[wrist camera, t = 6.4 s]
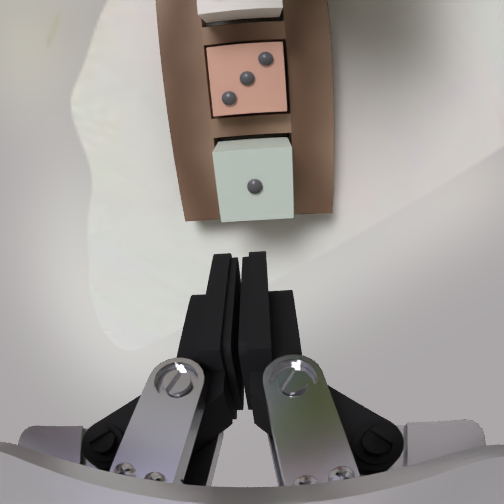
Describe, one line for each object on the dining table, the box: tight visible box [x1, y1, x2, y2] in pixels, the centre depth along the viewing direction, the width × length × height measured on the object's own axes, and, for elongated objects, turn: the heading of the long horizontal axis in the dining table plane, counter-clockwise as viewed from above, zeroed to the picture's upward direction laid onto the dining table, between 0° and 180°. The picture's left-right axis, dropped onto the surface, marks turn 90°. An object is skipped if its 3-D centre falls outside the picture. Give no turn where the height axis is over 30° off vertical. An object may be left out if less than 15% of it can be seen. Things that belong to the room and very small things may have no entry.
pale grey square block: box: [212, 137, 294, 222], centre depth 20 cm, size 5×5×3 cm
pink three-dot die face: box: [206, 42, 287, 116], centre depth 18 cm, size 5×5×3 cm
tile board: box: [156, 0, 334, 221], centre depth 18 cm, size 11×20×2 cm, turn 4°
